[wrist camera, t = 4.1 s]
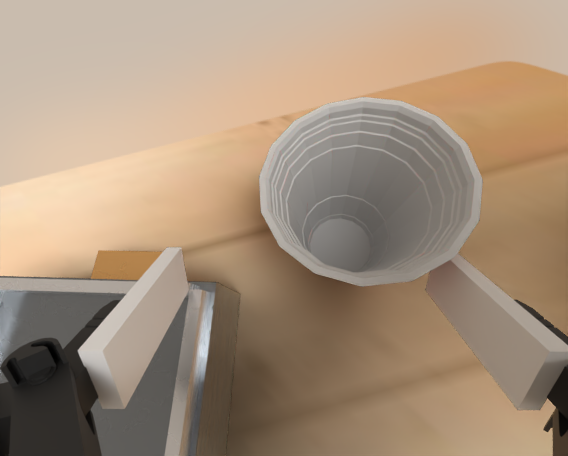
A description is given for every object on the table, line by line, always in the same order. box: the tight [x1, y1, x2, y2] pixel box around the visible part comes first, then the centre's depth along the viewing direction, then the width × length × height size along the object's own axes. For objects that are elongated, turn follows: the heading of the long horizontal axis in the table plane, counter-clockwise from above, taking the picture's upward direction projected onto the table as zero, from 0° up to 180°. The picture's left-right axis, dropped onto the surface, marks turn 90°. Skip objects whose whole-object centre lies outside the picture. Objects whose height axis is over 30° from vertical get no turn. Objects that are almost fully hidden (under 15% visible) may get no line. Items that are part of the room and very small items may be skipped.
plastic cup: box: [259, 97, 483, 287], centre depth 19 cm, size 11×11×12 cm
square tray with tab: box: [0, 251, 240, 456], centre depth 18 cm, size 15×17×8 cm
